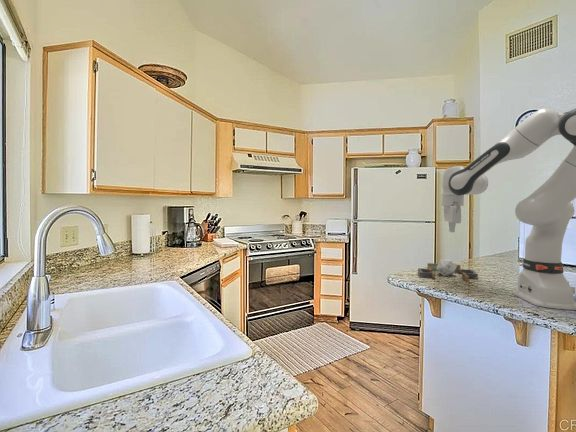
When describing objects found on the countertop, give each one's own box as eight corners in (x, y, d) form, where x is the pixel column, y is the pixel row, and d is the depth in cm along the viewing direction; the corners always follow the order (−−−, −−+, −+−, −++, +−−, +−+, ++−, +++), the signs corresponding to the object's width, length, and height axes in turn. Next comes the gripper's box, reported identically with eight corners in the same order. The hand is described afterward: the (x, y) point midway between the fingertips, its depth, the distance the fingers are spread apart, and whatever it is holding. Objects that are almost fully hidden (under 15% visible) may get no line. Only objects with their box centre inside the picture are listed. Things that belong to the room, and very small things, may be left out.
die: (433, 276, 158) (442, 263, 152) (434, 265, 165) (442, 252, 159) (449, 283, 156) (459, 270, 150) (450, 271, 163) (459, 258, 157)
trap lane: (481, 283, 143) (481, 274, 143) (420, 278, 151) (420, 270, 151) (471, 273, 161) (471, 265, 161) (416, 269, 169) (416, 262, 169)
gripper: (465, 202, 134) (464, 234, 135) (455, 202, 154) (455, 230, 154) (449, 202, 136) (448, 234, 137) (441, 201, 156) (441, 229, 156)
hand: (451, 232), depth 146 cm, fingers closed
